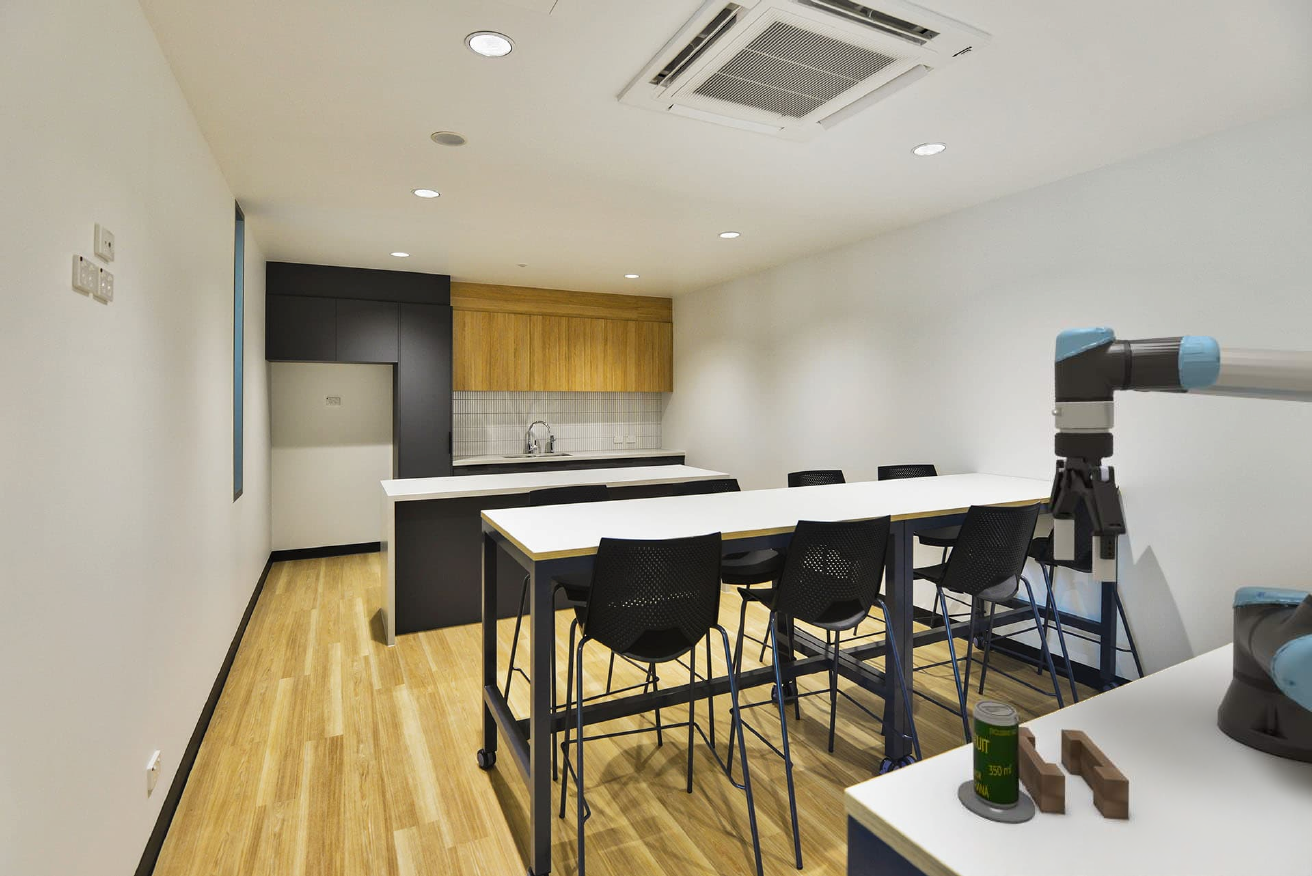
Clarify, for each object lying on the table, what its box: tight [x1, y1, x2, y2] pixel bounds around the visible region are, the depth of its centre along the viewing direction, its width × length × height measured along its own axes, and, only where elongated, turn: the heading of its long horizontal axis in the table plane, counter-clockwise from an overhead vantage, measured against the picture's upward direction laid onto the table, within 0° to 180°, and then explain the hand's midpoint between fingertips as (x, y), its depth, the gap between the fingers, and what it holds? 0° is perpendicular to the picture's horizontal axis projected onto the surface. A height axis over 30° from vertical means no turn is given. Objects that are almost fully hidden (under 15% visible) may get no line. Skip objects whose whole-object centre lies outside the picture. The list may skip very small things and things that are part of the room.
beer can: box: [972, 700, 1020, 809], centre depth 87 cm, size 5×5×12 cm
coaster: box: [957, 779, 1036, 824], centre depth 87 cm, size 9×9×1 cm
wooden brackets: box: [1019, 726, 1130, 821], centre depth 90 cm, size 10×13×5 cm
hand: (1082, 569), depth 101 cm, fingers open, 13 cm apart
